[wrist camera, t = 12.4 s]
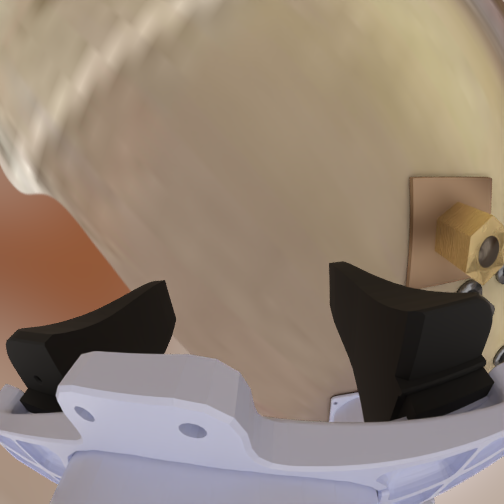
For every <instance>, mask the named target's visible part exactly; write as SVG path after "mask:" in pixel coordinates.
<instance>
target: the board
mask: <svg viewBox="0 0 504 504" xmlns="http://www.w3.org/2000/svg"><path fill="white" fill-rule="evenodd" d="M491 198H492V178H488V177H410V238H409V256H408V269H407V279H406V287H410V288H415V289H420V288H426V287H431V286H436V285H440V284H445V283H450V282H454V281H459V280H463V279H468V278H471V277H470V276H468V275H467V274H465V273H464V272H463V271H461V270H460V269H459V268H457V267H456V266H455V265H453V264H452V263H451V262H449V261H448V260H447V259H445V258H444V257H442V256H441V255H440V254H438V253H437V252H435V239H436V223H437V219H438V218H439V217H440V216H441V215H442V214H444V213H445V212H446V211H447V210H448V209H450V208H451V207H452V206H453V205H454V204H456V203H457V202H460V203H463V204H466V205H468V206H471V207H474V208H476V209H479V210H481V211H484V212H486V213H489V214H491Z"/></svg>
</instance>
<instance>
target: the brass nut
mask: <svg viewBox="0 0 504 504" xmlns="http://www.w3.org/2000/svg"><path fill="white" fill-rule="evenodd" d="M435 252H437V253H438V254H440V255H441V256H442V257H444V258H445V259H447V260H448V261H449V262H451V263H452V264H453V265H455V266H456V267H457V268H459V269H460V270H461V271H463V272H464V273H465V274H467V275H468V276H470V277H471V278H473V279H474V280H476V281H477V282H478V283H480V284H481V285H484V284H485V283H486V282H487V281H488V280H489V279H490V278H491V277H492V276H493V275H494V274H495V273H496V272H497V271H498V270H499V269H500V268H501V267H502V266H503V265H504V226H503V225H502V224H501V223H500V222H499V221H498V220H497V219H496V218H495V217H494V216H493V215H491V214H489V213H486V212H484V211H481V210H479V209H476V208H474V207H471V206H468V205H466V204H463V203H460V202H457V203H456V204H454V205H453V206H452V207H451V208H450V209H448V210H447V211H446V212H445V213H444V214H442V215H441V216H440V217H439V218H438V219H437V223H436V239H435Z"/></svg>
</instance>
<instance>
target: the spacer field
mask: <svg viewBox="0 0 504 504" xmlns="http://www.w3.org/2000/svg"><path fill="white" fill-rule="evenodd" d="M496 279H497V281H499V282H500V283H501V284H504V265H503V266H502V267H501V268H500V269H499V270H498V271H497V272H496ZM464 292H476V293H478V294H479V295H480V296H481V297H482V298H483V299H484V300H486V301H487V302H488V304H489V305H490V306H491V309H492V312H493V314H494V310H495V308H494V306H493V305H492V304H491V303H490V302H489V301H488V300H487V299H486V298H484V297H483V296H482V287H481V285H480V284H479V283H478V282H477V281H475V280H469V281H467V282H465V283H464V284H463V285H462V286H461V287H460V288H459V290H458V291H457V293H464ZM493 314H492V316H493ZM503 362H504V346H503V347H502V348H501V349H500V350H499V351H498V352H497V354H496V355H495V357H494V360H493V364H494V365H495V366H497V365H499V364H501V363H503Z"/></svg>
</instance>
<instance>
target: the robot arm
mask: <svg viewBox="0 0 504 504" xmlns="http://www.w3.org/2000/svg"><path fill="white" fill-rule="evenodd" d="M329 275H330V307H331V311H332V315H333V319H334V323H335V325H336V328H337V330H338V332H339V335H340V337H341V340H342V342H343V344H344V347H345V349H346V352H347V354H348V357H349V359H350V362H351V365H352V368H353V372H354V376H355V380H356V384H357V388H358V392H356V393H351V394H345V395H339V396H334V397H332V398H331V406H330V416H329V422H321V421H305V420H293V419H283V418H274V417H266V416H261V415H259V414H258V413H257V410H256V408H255V406H254V402H253V397H252V393H251V389H250V387H249V386H248V384H247V383H246V381H245V380H244V378H243V376H242V375H241V373H240V372H239V371H237V370H235V369H233V368H231V367H230V366H228V365H226V364H224V363H223V362H221V361H219V360H218V359H214V358H208V357H202V356H196V355H191V354H164V353H165V351H166V349H167V346H168V344H169V342H170V339H171V337H172V334H173V330H174V326H175V322H176V317H175V313H174V310H173V307H172V303H171V300H170V297H169V293H168V290H167V286H166V282H165V280H163V281H153V282H150V283H147V284H145V285H143V286H141V287H139V288H137V289H135V290H133V291H131V292H130V293H128V294H126V295H124V296H123V297H121V298H119V299H117V300H115V301H113V302H111V303H109V304H107V305H105V306H103V307H101V308H99V309H97V310H95V311H93V312H90V313H88V314H85V315H82V316H79V317H76V318H73V319H70V320H67V321H63V322H59V323H56V324H51V325H46V326H40V327H31V328H22V329H18V330H17V331H16V332H15V333H14V334H13V335H12V336H11V337H10V338H9V339H8V340H7V342H6V349H7V354H8V356H9V359H10V360H11V362H12V364H13V366H14V368H15V369H16V371H17V372H18V374H19V376H20V377H21V379H22V380H23V382H24V383H25V385H26V386H27V388H28V389H27V391H26V392H25V393H24V392H23V391H22V390H20V389H19V388H16V387H14V386H11V385H8V384H5V386H4V387H3V388H2V389H1V390H0V444H1V445H2V446H3V447H4V448H5V449H6V450H7V451H9V453H10V454H11V455H12V456H13V457H14V458H16V459H17V460H19V461H20V462H22V463H23V464H25V465H27V466H28V467H30V468H31V469H33V470H34V471H36V472H38V473H39V474H41V475H43V476H44V477H46V478H47V479H49V480H51V481H53V482H54V483H56V484H58V486H57V488H56V490H55V493H54V495H53V497H52V499H51V501H50V504H435V500H434V497H436V496H438V495H439V494H442V493H444V492H446V491H447V490H449V489H451V488H453V487H455V486H456V485H458V484H460V483H462V482H464V481H465V480H467V479H469V478H470V477H472V476H474V475H475V474H477V473H479V472H480V471H482V470H483V469H485V468H487V467H488V466H490V465H491V464H493V463H494V462H496V461H497V460H498V459H500V458H502V457H503V456H504V362H503V363H501V364H499V365H497V366H496V367H494V368H493V369H492V370H491V371H490V372H489V374H488V373H487V371H486V370H485V369H484V366H485V365H486V360H485V358H484V357H483V356H482V355H481V354H482V352H483V349H484V346H485V344H486V341H487V338H488V336H489V333H490V329H491V325H492V314H493V312H492V309H491V306H490V305H489V304H488V302H487V301H486V300H484V299H483V298H482V297H481V296H480V295H479V294H478V293H476V292H464V293H447V292H434V291H426V290H421V289H415V288H410V287H406V286H403V285H399V284H396V283H393V282H390V281H387V280H384V279H382V278H379V277H377V276H375V275H372V274H370V273H368V272H366V271H364V270H362V269H360V268H358V267H355V266H353V265H351V264H349V263H347V262H335V263H329Z"/></svg>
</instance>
